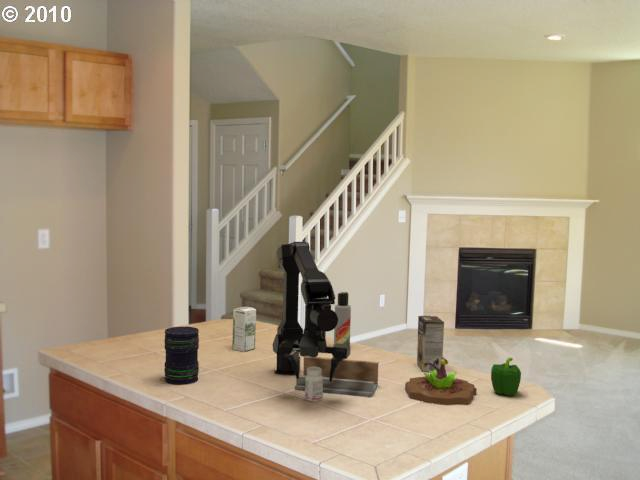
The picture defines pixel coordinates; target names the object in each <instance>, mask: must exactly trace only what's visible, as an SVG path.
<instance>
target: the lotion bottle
mask: <svg viewBox="0 0 640 480" xmlns="http://www.w3.org/2000/svg"><path fill="white" fill-rule="evenodd" d="M351 306H352V305H349V293H348V291H343V292H342V291H341V292H339V293H337V304H334V312H335V313H336V314H337V317H338V324H337V326H336V327H335V328H334V329H333V346H334V345H335V344H336V343H339V344H349V346H350V347H351V318H352V317H351V316H352V315H351V314H352V308H351Z"/></svg>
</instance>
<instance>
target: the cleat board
mask: <svg viewBox="0 0 640 480" xmlns="http://www.w3.org/2000/svg"><path fill="white" fill-rule="evenodd" d="M331 359H332V357H320V356H317V357H310V356H304V357H303V375H302V374H301V375H300V374H299V378H298V379H295V380H296V383H295V385H294V391H300V392H301V391H302V392H305V377H306V375H308V374H307V368H308V367H320V368H321V369H322V374H321V375H322V376H323V394H335V395H345V396H355V397H366V398H373V396H374V394H375V392H376V390H377V388H378V386H379V361H371V360H370V361H368V360H357V359H356V360H355V359H343V361H341V362H339V364H338V366H337V368H336V371H335V373H334V376H333V379H332V381H331V382H330V380H329V377H330V369H331Z"/></svg>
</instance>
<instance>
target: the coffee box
mask: <svg viewBox="0 0 640 480" xmlns="http://www.w3.org/2000/svg"><path fill="white" fill-rule="evenodd" d="M417 318H418V321H417V349H416V350H417V351H416V354H417V355H416V356H417V357H416V364H417V366H418V367H419V369H421V371H422V372H423V373H427V372H428V373H429V371H431V372H433V373H434V370H435V368H434V367H433V366H431V365H427V367H426V368H423V367H422V364H423V363H425V362H427V363H432V364H434V365H436V367H438V368H439V369H440V366H441V363H440V360H441V358H442V357H444V356H443V355H444V335H445V330H444V329H445V321H444V320H442V319H441V318H439V317H438V316H437V315H418V317H417Z"/></svg>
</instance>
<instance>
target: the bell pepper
mask: <svg viewBox="0 0 640 480" xmlns="http://www.w3.org/2000/svg"><path fill="white" fill-rule="evenodd" d="M513 360H514V359H513V358H512V357H509V358H507V359H506V361H505V363H501V364H496V363H494V364H493V365H492V367H491V371H490V380H491V386H492V389H493V391H494V393H496V394H498V395H506V396H509V397H511V396H516V394H517V393H518V390H519V387H520V384H521V381H522V380H521V379H522V371H521V368H519V367H518V365H517V364H511V365H510V363H511V362H512V361H513Z"/></svg>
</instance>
